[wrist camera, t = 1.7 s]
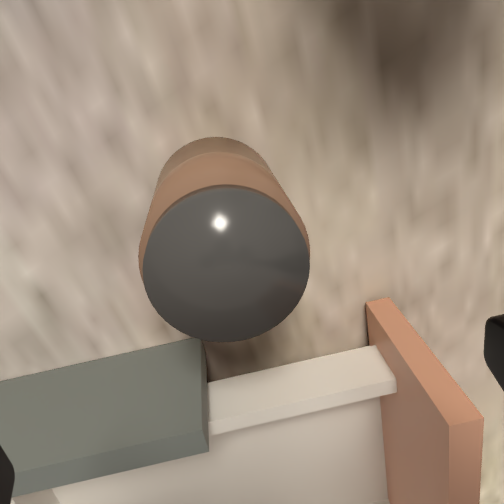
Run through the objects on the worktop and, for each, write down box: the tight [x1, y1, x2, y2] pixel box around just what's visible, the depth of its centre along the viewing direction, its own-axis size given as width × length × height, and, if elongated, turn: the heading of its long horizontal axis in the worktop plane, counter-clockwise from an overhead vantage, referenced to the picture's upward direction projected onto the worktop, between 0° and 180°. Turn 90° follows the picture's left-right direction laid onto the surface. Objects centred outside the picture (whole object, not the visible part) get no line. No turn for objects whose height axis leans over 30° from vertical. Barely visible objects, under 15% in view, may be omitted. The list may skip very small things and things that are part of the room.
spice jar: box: [138, 137, 310, 342], centre depth 16 cm, size 5×5×7 cm
